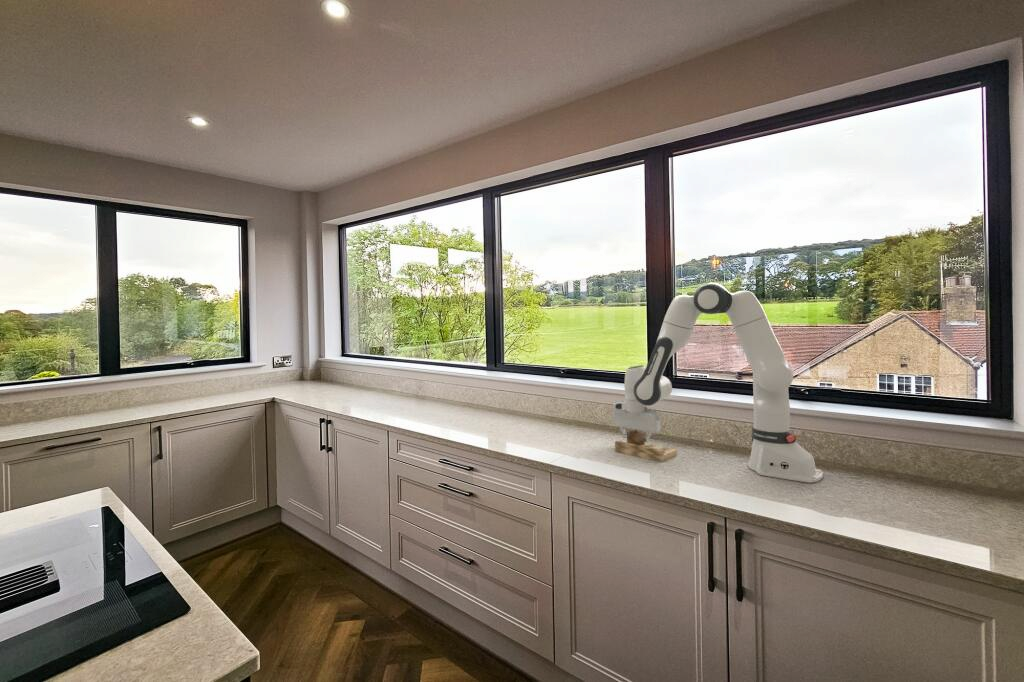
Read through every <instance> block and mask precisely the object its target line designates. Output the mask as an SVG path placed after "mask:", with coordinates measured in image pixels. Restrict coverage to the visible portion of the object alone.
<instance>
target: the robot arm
mask: <svg viewBox="0 0 1024 682" xmlns="http://www.w3.org/2000/svg"><path fill="white" fill-rule="evenodd" d="M669 304H670V305H669V306H668V309H667V310H666V314H665V315H664V318H663V322H662V324H661V328H660V331H659V334H658V336H657V339H656V343H655V345H654V348H653V349H652V352H651V355H650V357H649V360H648V361H647V364H646V366H645V365H635V366H630V367H628V368H627V369H626V370H625V373H624V383H623V384H624V392H625V394H624V400H622V401H619V402H616V403H613V405H612V406H613V410H612V414H611V415H612V416H611V418H612V419H611V421H612V423H611V424H612V425H613V426H615V427H619V428H620V432H621V433H622V438H623V439H627V431H626V429H631V430H637V431H642V432H645V437H644V442H645V443H647V444H649V442H650V437H651V436H652V434H657V433H659V432H660V431H661V429H662V427H661V419H660V418H661V413H660V411H659V410H658V409H657V408H651V407H650V406H653V405H655V404H656V403H658V402H659V401H662V400H664V399H666V398H668V397H669V396H670V395H671V393H672V390H673V385H672V381H671V380H670V379H669V377H667V376H665V375H663V374H664V372H665V369H666V367H667V364H668V362H669V360H670V359H671V357H672V356H673V355H674V354H676V353H677V352H678V351H680V350H681V349H682V348H684V347H685V346H686V345H687V343H688V342H689V340H690V338H691V336H692V333H693V331H694V329H695V325H696V322H697V320H698V318H699V317H700V316H701V314H705V315H715V314H725V315H727V317H728V318H729V320H730V323H731V325H732V327H733V330H734V333H735V335H736V337H737V339H738V341H739V343H740V346H741V349H742V350H743V352H744V355H745V357H746V359H747V362H748V364H749V366H750V368H751V371H752V389H753V391H752V393H753V426H752V427H751V434H750V435H751V443H752V444H751V451H750V457H749V461H748V463H747V467H748V468H749V469H750V470H752V471H754V472H756V474H758V475H760V476H763V477H764V476H765V477H771V478H776V479H783V480H790V481H796V482H800V483H801V482H802V483H811V484H812V483H817V482H819V481H821V480H822V479H823V478H824V473H823V471H822V470H821V469H819V468H817V467H816V463H815V459H814V456H813V455H812V453H810V452H809V451H807V450H806V449H805V448H803V446H801V445H800V444H799V443H798V442H797V432H793V431H792V430H791V429H790V423H791V420H790V419H791V418H790V417H791V414H790V413H791V407H790V395H789V388H790V386H791V385H792V384H793V383H792V382H793V380H794V373H793V369H792V367H791V366H790V363H789V361H788V359H787V357H786V355H785V353H784V350H783V349H782V347H781V344H780V342H779V340H778V339H777V337H776V334H775V332H774V330H773V327H772V325H771V323H770V321H769V318H768V316H767V314H766V311H765V310H764V308H763V306H762V304H761V302H760V301H759V299H758V298H757V297H756V295H755V294H754V293H753V292H752V291H750V290H739V291H736V292H733V293H732V292H730V291H729V289H728V288H727V287H726V286H725V285H723V284H721V283H718V282H708V283H703V284H702V285H700V286H699V287H698V288H697V289H696V290H695V292H694V294H693V295H688V294H679V295H676V296H675V297H674V298H673V299H672V300H671V303H669Z"/></svg>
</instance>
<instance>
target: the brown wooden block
mask: <svg viewBox="0 0 1024 682" xmlns="http://www.w3.org/2000/svg"><path fill="white" fill-rule="evenodd" d="M626 433H627V438H626V442H627V443H630V444H635V445H640V446H642V445H644V444H645V443H646V442H644V437H646V431H641V430H636V429H631V430H629V431H626Z"/></svg>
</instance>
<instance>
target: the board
mask: <svg viewBox="0 0 1024 682" xmlns="http://www.w3.org/2000/svg"><path fill="white" fill-rule="evenodd" d="M614 452H617V453H622V454H624V455H629V456H633V457H638V458H642V459H647V460H651V461H656V462H660V463H662V462H665V461H667V460H669V459H671V458H674V457H675V456H677V455H678V449H676V448H675V449H674V448H671V447H665V446H660V445H656V444H651V443H646V442H645V444H644V445H642V446H640V445H635V444H630V443H627V441H621V440H616V441H614Z"/></svg>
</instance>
